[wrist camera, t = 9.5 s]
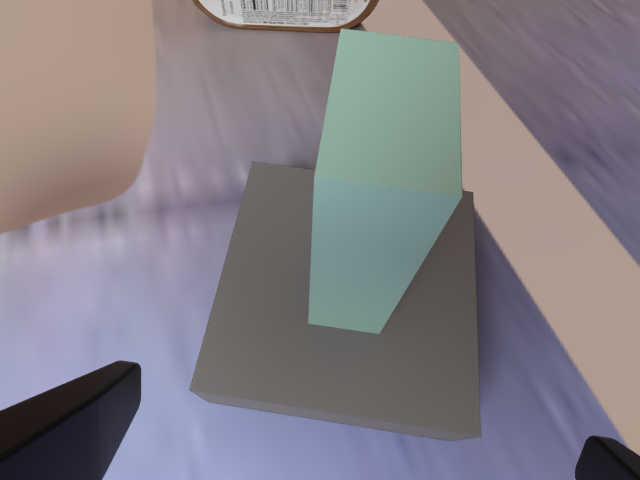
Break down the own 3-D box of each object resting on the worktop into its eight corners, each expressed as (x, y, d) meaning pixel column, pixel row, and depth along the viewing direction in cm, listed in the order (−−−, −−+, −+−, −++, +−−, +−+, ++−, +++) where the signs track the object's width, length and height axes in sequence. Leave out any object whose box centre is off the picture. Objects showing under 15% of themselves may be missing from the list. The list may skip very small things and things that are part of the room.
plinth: (449, 440, 20) (480, 437, 17) (208, 402, 21) (189, 390, 17) (450, 228, 26) (473, 192, 22) (259, 201, 26) (252, 161, 23)
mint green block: (379, 334, 19) (462, 196, 9) (308, 323, 19) (313, 176, 9) (386, 236, 21) (458, 42, 11) (323, 227, 21) (341, 28, 11)
